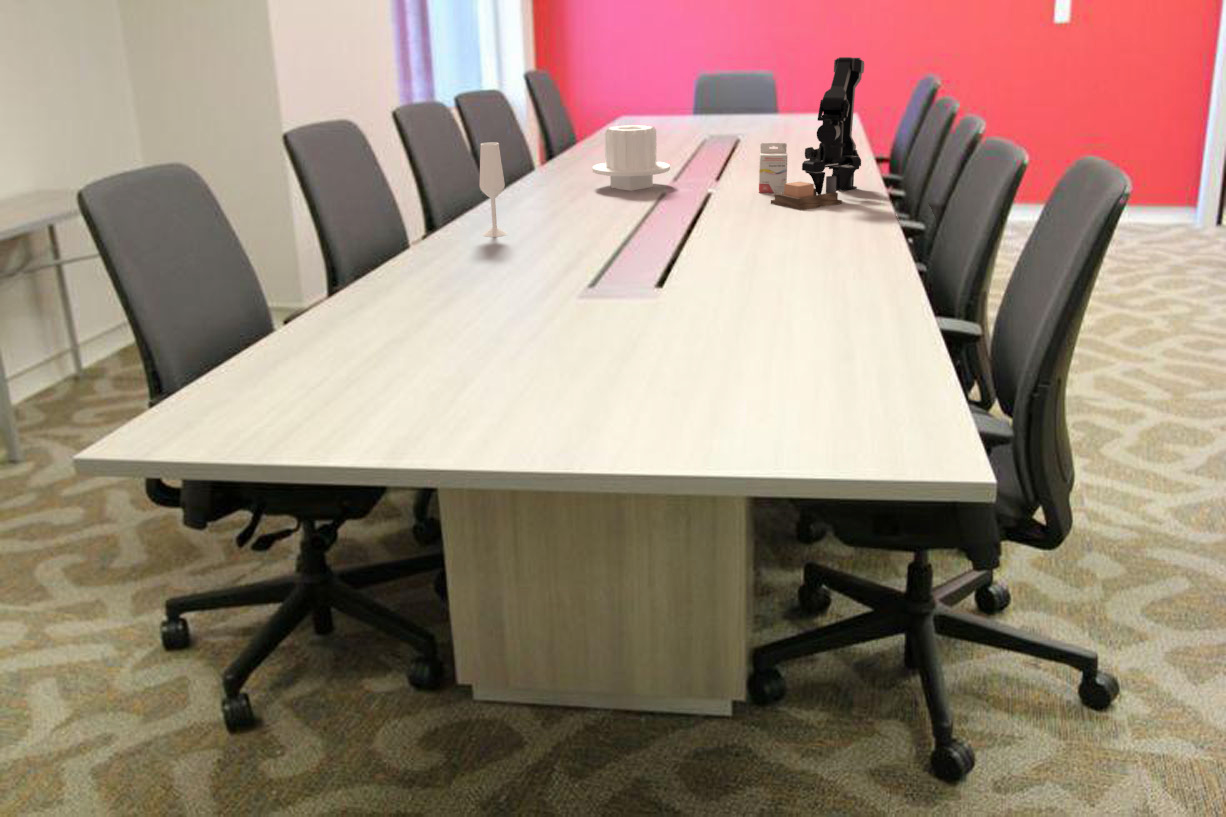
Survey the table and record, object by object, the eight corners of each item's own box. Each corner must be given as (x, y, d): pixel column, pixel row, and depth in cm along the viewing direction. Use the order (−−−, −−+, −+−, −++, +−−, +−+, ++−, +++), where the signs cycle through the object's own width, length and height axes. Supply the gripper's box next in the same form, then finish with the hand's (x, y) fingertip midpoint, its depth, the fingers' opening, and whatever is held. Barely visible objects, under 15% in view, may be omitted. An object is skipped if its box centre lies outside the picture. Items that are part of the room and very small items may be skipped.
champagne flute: (479, 233, 318) (473, 143, 309) (503, 230, 320) (497, 141, 312) (487, 237, 312) (481, 146, 304) (511, 235, 314) (505, 144, 306)
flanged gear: (628, 197, 364) (627, 134, 357) (577, 188, 382) (575, 128, 375) (686, 186, 379) (686, 126, 373) (634, 178, 397) (633, 121, 390)
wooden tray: (809, 197, 355) (809, 187, 354) (841, 203, 344) (842, 193, 343) (770, 203, 348) (770, 193, 347) (802, 210, 336) (802, 199, 335)
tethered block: (827, 196, 354) (828, 175, 351) (841, 199, 349) (842, 177, 347) (783, 203, 345) (784, 181, 343) (797, 206, 340) (798, 183, 338)
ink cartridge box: (758, 193, 364) (759, 145, 359) (758, 190, 369) (759, 142, 364) (786, 193, 363) (788, 144, 358) (786, 190, 368) (787, 142, 363)
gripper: (837, 134, 356) (835, 185, 361) (790, 139, 346) (788, 192, 352) (863, 137, 347) (861, 190, 352) (815, 143, 337) (813, 197, 343)
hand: (830, 192), depth 350 cm, fingers open, 9 cm apart
